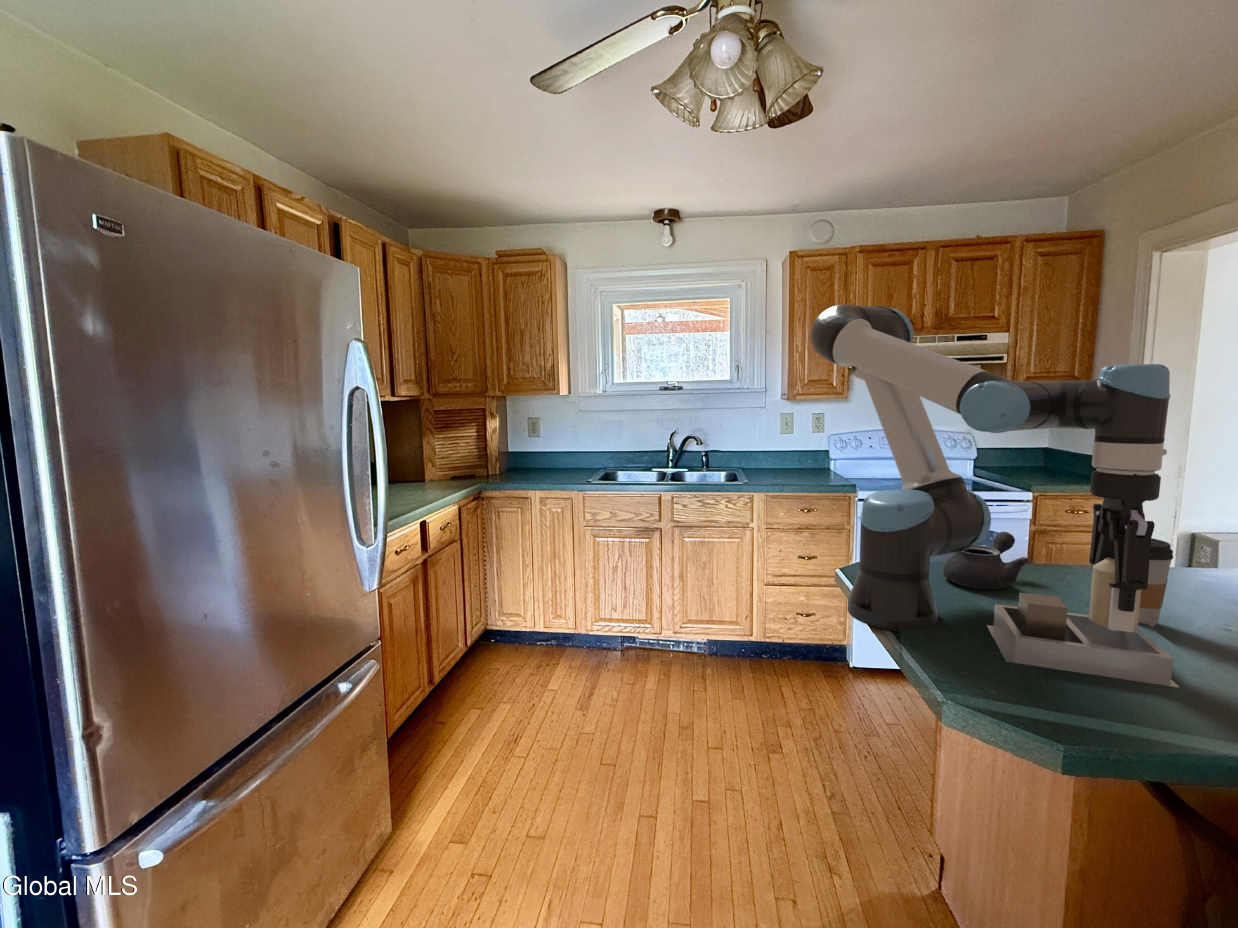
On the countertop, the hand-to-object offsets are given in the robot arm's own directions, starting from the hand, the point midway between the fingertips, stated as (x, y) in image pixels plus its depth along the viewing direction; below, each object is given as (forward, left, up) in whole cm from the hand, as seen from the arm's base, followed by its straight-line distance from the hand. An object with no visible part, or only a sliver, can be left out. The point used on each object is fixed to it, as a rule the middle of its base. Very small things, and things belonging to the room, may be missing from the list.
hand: (1111, 621), depth 83 cm
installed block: (-9, 0, -6) cm, 10 cm away
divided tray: (-4, 0, -7) cm, 8 cm away
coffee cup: (+11, +21, -7) cm, 25 cm away
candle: (0, 0, -1) cm, 1 cm away
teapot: (-9, +37, -7) cm, 38 cm away
